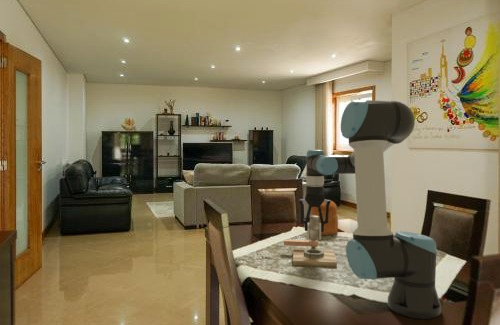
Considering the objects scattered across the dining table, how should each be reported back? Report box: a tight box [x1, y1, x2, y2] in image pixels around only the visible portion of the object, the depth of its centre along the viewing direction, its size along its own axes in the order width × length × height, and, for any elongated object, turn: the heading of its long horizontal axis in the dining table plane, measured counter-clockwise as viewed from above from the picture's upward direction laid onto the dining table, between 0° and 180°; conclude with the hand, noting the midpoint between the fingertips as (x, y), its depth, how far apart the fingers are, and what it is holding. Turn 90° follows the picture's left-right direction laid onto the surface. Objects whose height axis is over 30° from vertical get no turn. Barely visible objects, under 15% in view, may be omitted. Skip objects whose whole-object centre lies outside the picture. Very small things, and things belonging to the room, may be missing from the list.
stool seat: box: [292, 246, 338, 268], centre depth 166 cm, size 18×18×4 cm
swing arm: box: [283, 239, 319, 248], centre depth 175 cm, size 16×4×3 cm, turn 84°
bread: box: [311, 199, 339, 236], centre depth 221 cm, size 16×26×17 cm, turn 167°
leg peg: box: [308, 215, 320, 241], centre depth 166 cm, size 4×4×10 cm
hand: (314, 238), depth 166 cm, fingers closed on leg peg, 4 cm apart
